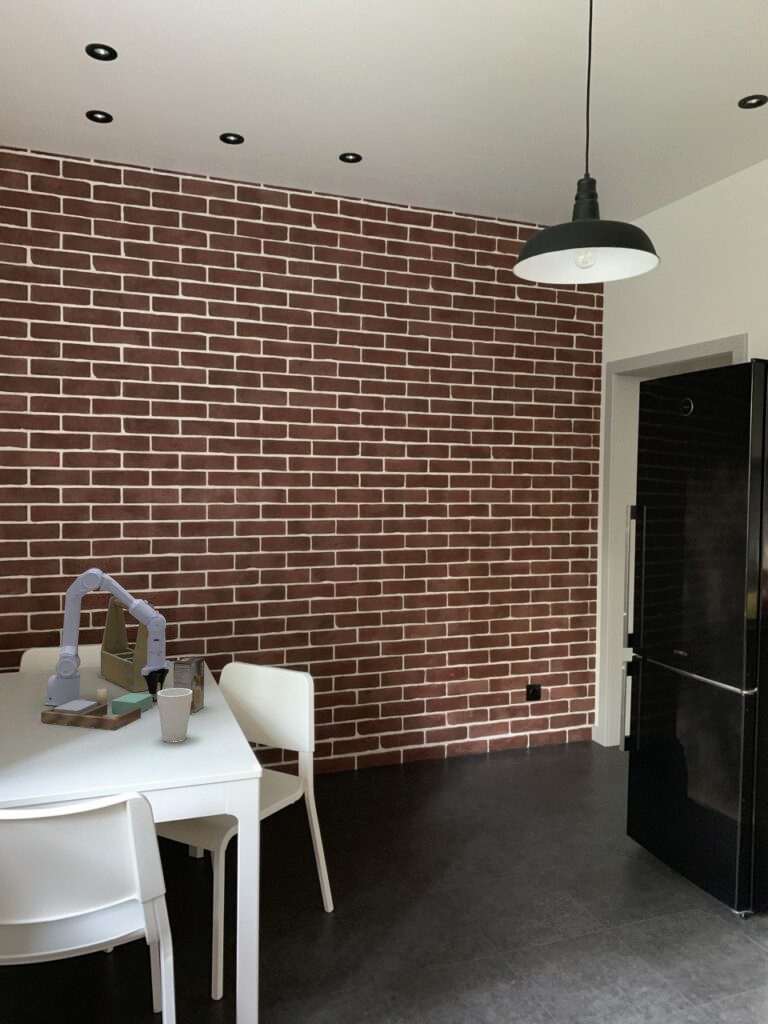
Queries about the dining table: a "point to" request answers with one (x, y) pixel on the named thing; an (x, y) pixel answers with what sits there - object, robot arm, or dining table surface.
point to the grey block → (83, 704)
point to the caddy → (123, 650)
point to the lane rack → (91, 717)
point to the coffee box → (191, 679)
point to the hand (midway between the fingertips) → (155, 692)
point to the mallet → (134, 702)
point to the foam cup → (174, 713)
